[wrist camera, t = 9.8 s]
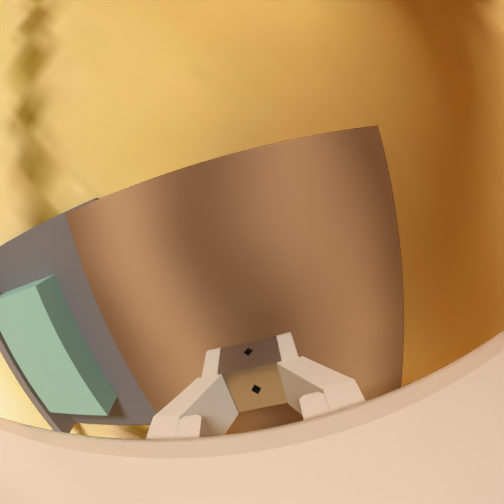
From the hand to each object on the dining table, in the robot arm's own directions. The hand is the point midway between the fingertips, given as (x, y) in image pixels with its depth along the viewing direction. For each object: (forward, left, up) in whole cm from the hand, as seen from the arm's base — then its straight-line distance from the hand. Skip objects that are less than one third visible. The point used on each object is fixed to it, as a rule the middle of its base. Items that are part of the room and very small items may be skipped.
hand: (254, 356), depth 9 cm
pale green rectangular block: (+14, 0, -3) cm, 14 cm away
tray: (+12, 0, -5) cm, 13 cm away
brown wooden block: (0, 0, -5) cm, 5 cm away
